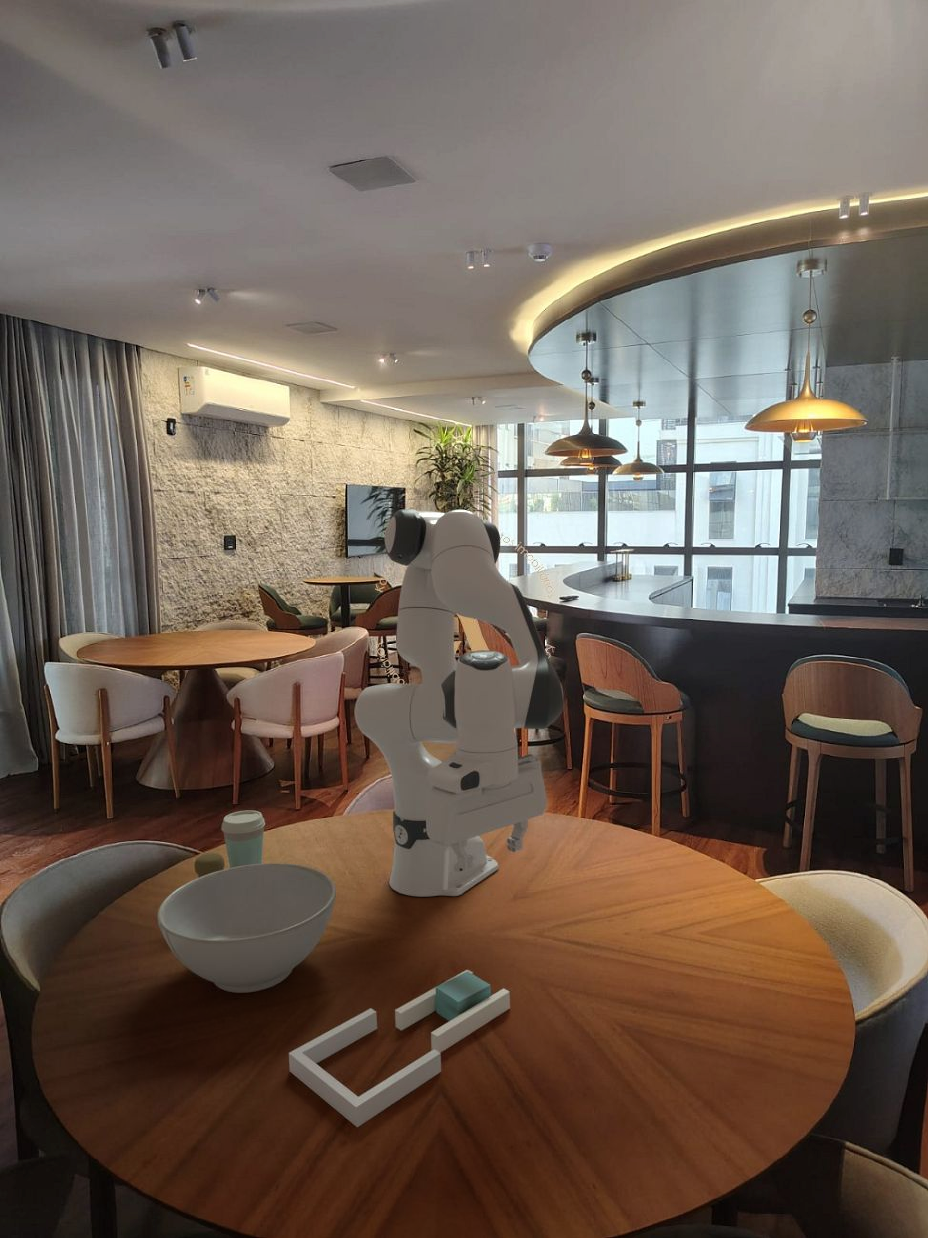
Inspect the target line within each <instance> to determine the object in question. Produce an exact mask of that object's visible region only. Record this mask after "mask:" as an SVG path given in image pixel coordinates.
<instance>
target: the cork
mask: <svg viewBox="0 0 928 1238" xmlns="http://www.w3.org/2000/svg"><path fill="white" fill-rule="evenodd" d="M225 864H226V863H225V858H224V856H223V855H222V854H221V853H218V852H208V853H204V854H201V855H199V856H198V857H197V858H196V859H195V862H194V871H195V873H196V875H197V876H198V877H197V878H199V877H202V876H205V875H207V874H210V873H213V872H217V871H220V870H224V869H225Z"/></svg>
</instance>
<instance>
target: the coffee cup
mask: <svg viewBox="0 0 928 1238" xmlns="http://www.w3.org/2000/svg"><path fill="white" fill-rule="evenodd" d="M265 825H266V822H265V818H264V817H263V814H262V813H261V812H260V811H257V810H252V809H251V810H239V811H238V810H237V811H234V812H232V813H229V814H227V815H225V816H224V817H223V821H222V823H221V828H220V829H221V831H222V833H223V838H224V843H225V847H226V853H227V858H228V863H229V868H233V867H238V866H244V865H252V864H262V863H263V862H262V861H263V846H264V845H263V844H264V831H265V829H264V827H265Z"/></svg>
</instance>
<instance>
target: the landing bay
mask: <svg viewBox="0 0 928 1238" xmlns="http://www.w3.org/2000/svg"><path fill="white" fill-rule="evenodd" d="M377 1019H378V1018H377V1011H376V1010H374V1009H373V1008H372V1007H371V1008H370V1007H369V1009H367V1010H364V1011H363V1012H361V1013H359V1014H357V1015H356V1016H354V1017H352V1018H350V1019H349V1020H347V1021H345V1022H343V1023H341V1024H340V1025H337V1026H335V1027H334V1028H332V1029H330V1030H329V1031H328V1030H327V1032H325V1033H323V1034H321V1035H319V1036H317V1037H316V1038H313V1039H312V1040H310V1041H308V1042H306V1043H305V1044H303V1045H301V1046H299V1047H297V1048H295V1049H294V1050H292V1051H290V1052H288V1063H289V1066H288V1068H289V1072H290V1073H291V1074H292V1075H294V1076H295V1078H297V1079H298V1080H299V1081H301V1082H302V1083H303V1084H304V1085H306V1086H307V1087H308V1088H309V1089H310V1090H312V1091H313V1092H314V1093H315V1094H316V1095H318V1096H319V1097H320V1098H321V1099H322V1100H324V1101H325V1102H326V1103H327V1104H329V1105H330V1106H331V1107H332V1108H333V1109H335V1110H336V1111H337V1112H338V1113H339V1114H341V1116H343V1118H345V1119H347V1120H348V1121H349V1122H351V1124H353V1125H354V1126H355V1128H359V1127H360V1126H362V1125H363V1124H365V1123H366V1122H368V1121H369V1120H371V1119H373V1118H374V1117H375V1116H377V1115H378V1114H379V1113H382V1112H383V1111H384V1110H385V1109H387V1108H388V1107H390V1106H391V1105H393V1104H395V1103H396V1102H398V1101H399V1100H401V1099H402V1098H403V1097H405V1096H407V1095H408V1094H410V1093H411V1092H413V1091H414V1090H416V1089H418V1088H419V1087H420V1086H422V1085H423V1084H425V1083H426V1082H428V1081H429V1080H431V1079H432V1078H434V1077H435V1076H437V1075H438V1074H441V1072H442V1062H441V1061H442V1058H441V1053H442V1052H441V1053H439V1052H438V1051H436V1050H435V1049H433V1050H432V1049H431V1051H429V1052H427V1053H426V1054H424V1055H422V1056H420V1057H419V1058H418V1059H416V1060H414V1061H413V1062H412V1063H410V1064H408V1065H406V1066H405V1067H404V1068H402V1069H400V1070H399V1071H397V1072H395V1073H394V1074H392V1075H391V1076H389V1077H388V1078H386V1079H384V1080H382V1081H381V1082H380V1083H378V1084H377V1085H375V1086H374V1087H372V1088H370V1089H368V1090H367V1091H366V1092H363V1093H362V1094H360V1095H359V1096H358V1095H357V1094H356V1093H354V1092H352V1091H351V1090H350V1089H349V1088H347V1086H345V1085H344V1084H342V1083H341V1082H340V1081H338V1080H337V1079H336V1078H335V1077H333V1075H331V1074H330V1073H328V1071H326V1070H325V1069H323V1068H322V1067H321V1066H319V1065H318V1063H320V1062H321V1061H323V1060H325V1059H327V1058H329V1057H330V1056H332V1055H334V1054H335V1053H337V1052H339V1051H341V1050H342V1049H344V1048H346V1047H348V1046H349V1045H352V1044H353V1043H354V1042H355V1043H356V1041H358V1040H360V1039H361V1038H364V1037H365V1036H367V1035H369V1034H370V1033H372V1032H374V1031H376V1030H377V1029H378V1021H377Z"/></svg>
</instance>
